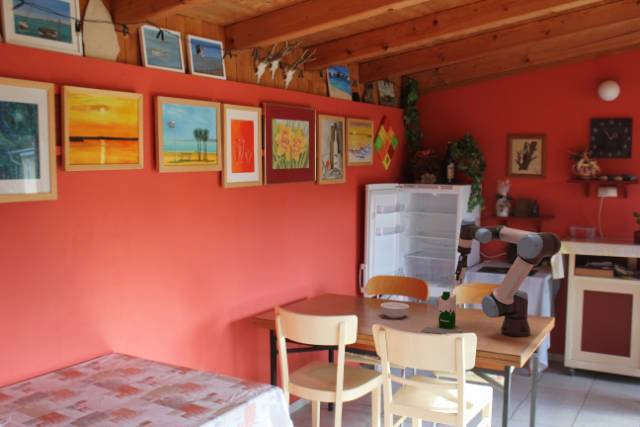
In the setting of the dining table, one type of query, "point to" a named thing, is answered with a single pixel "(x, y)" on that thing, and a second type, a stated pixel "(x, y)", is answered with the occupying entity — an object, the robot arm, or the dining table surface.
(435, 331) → the mat
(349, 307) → the dining table surface
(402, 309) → the cereal bowl
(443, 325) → the soya milk
